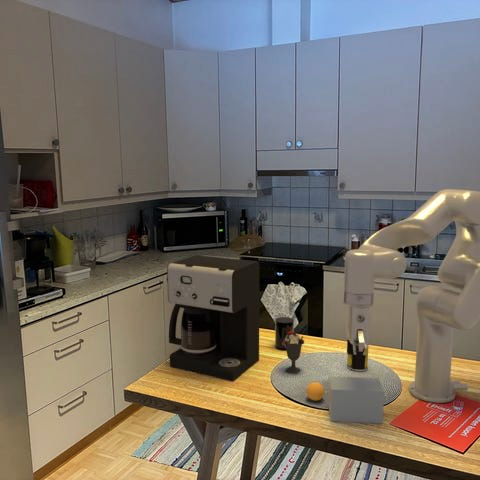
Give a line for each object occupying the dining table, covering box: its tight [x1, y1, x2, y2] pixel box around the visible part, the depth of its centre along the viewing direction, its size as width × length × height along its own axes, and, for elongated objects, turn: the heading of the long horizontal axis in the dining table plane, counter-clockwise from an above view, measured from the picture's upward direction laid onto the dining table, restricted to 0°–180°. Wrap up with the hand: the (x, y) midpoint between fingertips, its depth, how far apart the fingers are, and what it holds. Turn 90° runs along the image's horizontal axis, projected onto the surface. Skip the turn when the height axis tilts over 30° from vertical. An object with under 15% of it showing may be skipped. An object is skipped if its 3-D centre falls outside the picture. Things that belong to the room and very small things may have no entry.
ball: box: [305, 381, 325, 402], centre depth 137 cm, size 5×5×5 cm
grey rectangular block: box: [327, 376, 385, 424], centre depth 128 cm, size 13×8×9 cm, turn 84°
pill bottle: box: [346, 344, 370, 372], centre depth 158 cm, size 6×6×12 cm
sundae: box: [283, 326, 305, 374], centre depth 156 cm, size 7×7×15 cm
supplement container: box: [274, 316, 295, 351], centre depth 176 cm, size 7×7×10 cm
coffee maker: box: [166, 254, 260, 382], centre depth 161 cm, size 28×20×35 cm
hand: (355, 361), depth 127 cm, fingers open, 9 cm apart
